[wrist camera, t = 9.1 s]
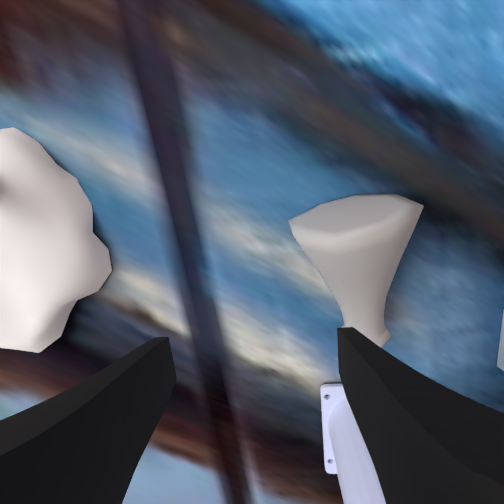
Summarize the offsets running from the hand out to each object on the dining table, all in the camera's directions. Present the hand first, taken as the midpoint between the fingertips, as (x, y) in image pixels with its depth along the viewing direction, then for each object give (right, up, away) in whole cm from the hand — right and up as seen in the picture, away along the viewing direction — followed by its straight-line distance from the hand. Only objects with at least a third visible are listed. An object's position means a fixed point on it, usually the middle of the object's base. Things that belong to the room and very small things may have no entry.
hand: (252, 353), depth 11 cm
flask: (+6, +7, +4) cm, 10 cm away
